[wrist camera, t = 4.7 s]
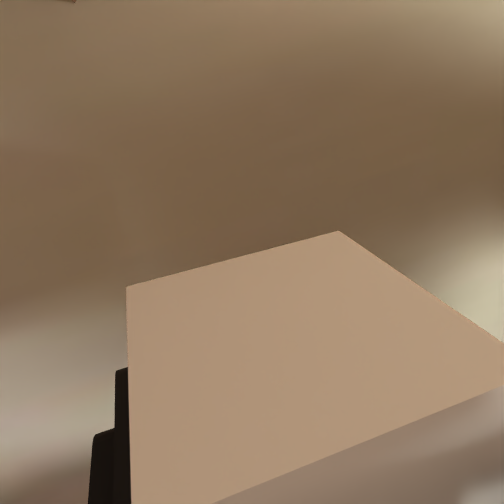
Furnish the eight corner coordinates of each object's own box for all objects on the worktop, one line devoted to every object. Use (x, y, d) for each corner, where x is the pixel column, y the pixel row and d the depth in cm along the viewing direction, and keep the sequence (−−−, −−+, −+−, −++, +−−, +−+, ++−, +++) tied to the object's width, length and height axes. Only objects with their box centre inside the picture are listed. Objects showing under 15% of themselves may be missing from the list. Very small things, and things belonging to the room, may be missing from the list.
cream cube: (338, 230, 11) (542, 369, 6) (343, 383, 13) (483, 574, 8) (125, 286, 10) (131, 535, 4) (177, 443, 12) (220, 714, 7)
